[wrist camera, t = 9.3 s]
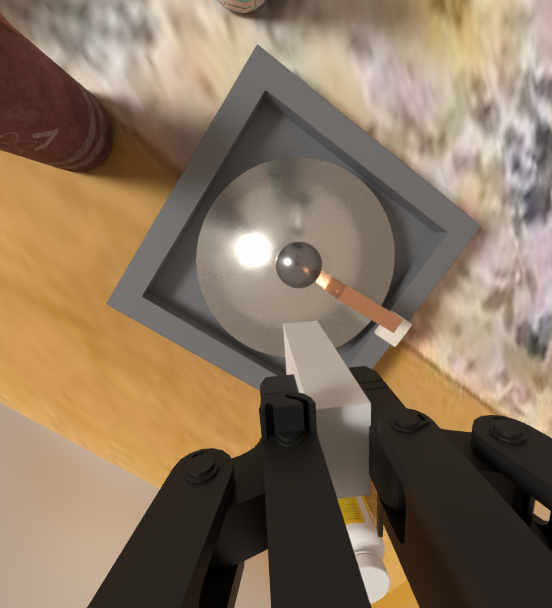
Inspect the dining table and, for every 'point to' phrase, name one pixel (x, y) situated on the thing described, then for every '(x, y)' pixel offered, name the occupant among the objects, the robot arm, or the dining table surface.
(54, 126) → the can
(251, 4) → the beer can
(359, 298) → the dial
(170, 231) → the dial plate
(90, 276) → the dining table surface
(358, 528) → the supplement bottle
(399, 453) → the robot arm
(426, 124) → the dining table surface
